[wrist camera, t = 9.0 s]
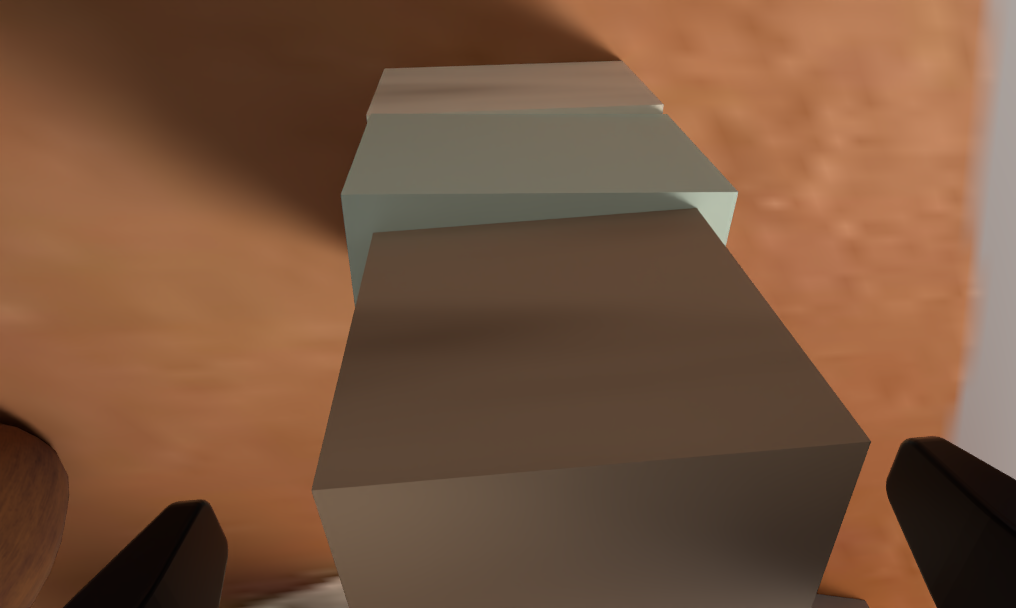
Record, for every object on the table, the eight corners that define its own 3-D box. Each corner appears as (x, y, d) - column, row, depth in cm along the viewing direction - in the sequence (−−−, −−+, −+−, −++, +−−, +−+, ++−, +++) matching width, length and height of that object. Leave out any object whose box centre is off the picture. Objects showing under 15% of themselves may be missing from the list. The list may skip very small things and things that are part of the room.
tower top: (630, 348, 16) (674, 466, 13) (393, 353, 16) (377, 477, 13) (666, 113, 13) (738, 191, 10) (370, 113, 13) (340, 195, 9)
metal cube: (669, 439, 13) (773, 712, 9) (415, 462, 13) (395, 751, 8) (697, 207, 10) (870, 442, 6) (373, 233, 10) (311, 489, 6)
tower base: (605, 264, 20) (636, 341, 16) (408, 273, 19) (399, 354, 16) (621, 59, 16) (663, 103, 13) (384, 67, 16) (366, 115, 13)
